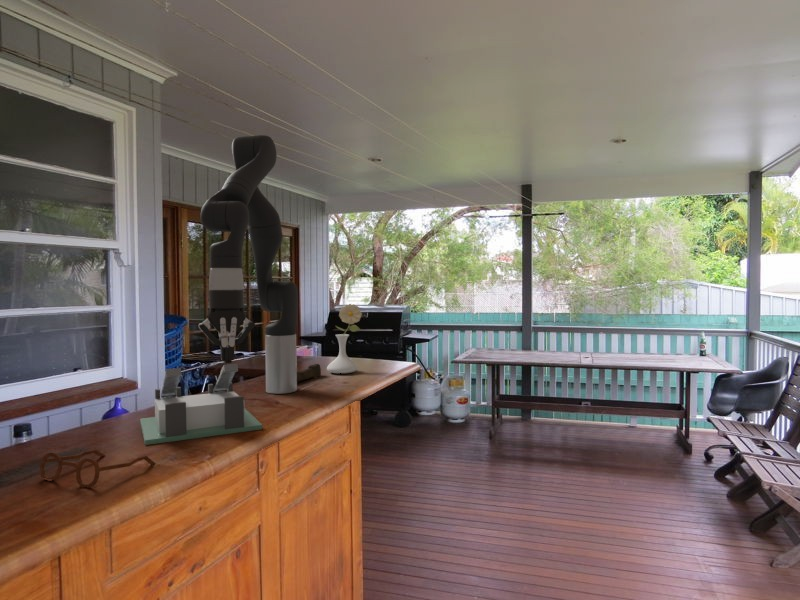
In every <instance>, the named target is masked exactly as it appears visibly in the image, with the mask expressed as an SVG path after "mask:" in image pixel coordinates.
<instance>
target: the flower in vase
mask: <svg viewBox="0 0 800 600" xmlns="http://www.w3.org/2000/svg"><path fill="white" fill-rule="evenodd" d="M339 310H340V311H339V314H338V317H339V318H340V320H341V322H343V323H346V324H348V326H347V328H346V329H344V328H341V327H339V326H337V325H335V328H337V329H338V330H340V331H343V333H341V334H340V333H339V334H338V333H337V334H335V337H336V339H337V342H338V346H339V349H338V351H339V352H338V355H337V357H336V358H335V359H333V360H332V361H331V362H330V363H329V364H328V365H327V367H326V370H327V371H328V372H330V373H333V374H340V373H341V374H350V373H355V372H357V371H358V370H359V366H358V364H357V363H356V362H355V361H354V360H352V359H351V358H350V357H349V356H348V355H347V351H346V350H347V349H346V345H347V340H348V338H349V337H350V334H347V333H346V332H347V331H348V330H350V332H358V331H361V328H360V327H359V326H357V325H356V324H355V323H358V322H360V320H361V318H362V315H363V312H362V311H361V309H360V307H359V306H357V305H355V304H352V303H349V304H346V305H344V306H342V307H341V309H339Z"/></svg>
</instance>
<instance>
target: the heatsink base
mask: <svg viewBox="0 0 800 600" xmlns="http://www.w3.org/2000/svg"><path fill="white" fill-rule="evenodd" d="M233 388H234V386H233V382H232V381H231V383H230V385H229V387H228V389H227V391H226V392H216V393H214V384H213V383H207V393H203V394H201V393H200V394H191V395H183V396H182V387H181V386H177V390H176V394H175V397H166V398H161V388H154V416H152V417H143V418H140V419H139V420H140V421H139V423H140V428H141V432H142V436H143V438H142V439H143V441H144V445H145V446H148V445H154V444H155V445H156V444H162V443H169V442H170V443H171V442H178V441H185V440H193V439H194V440H195V439H201V438H206V437H214V436H221V435H223V436H224V435H228V434H237V433H245V432H252V431H259V430H263V424H262V423H261V422H260V421H259V420H258V419H256V417H255V416H254V415H253V414H252V413H251V412H250V411H248V410H247V409H246V402H245V399H244V398H245V397H244V396H243V395H239V394H238V393H236V391H234V389H233Z"/></svg>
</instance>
